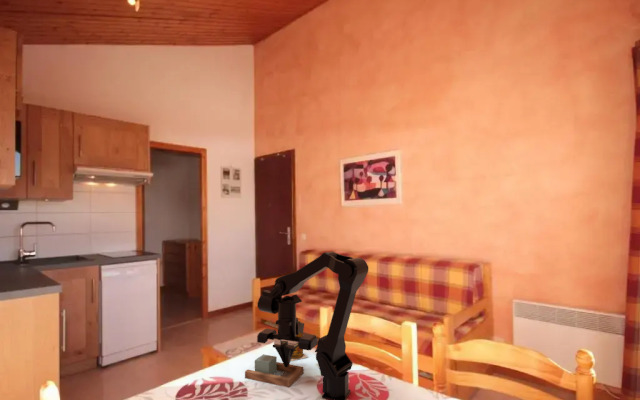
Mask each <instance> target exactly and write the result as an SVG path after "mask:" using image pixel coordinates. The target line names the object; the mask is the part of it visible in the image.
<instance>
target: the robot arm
mask: <svg viewBox="0 0 640 400" xmlns="http://www.w3.org/2000/svg"><path fill="white" fill-rule="evenodd" d="M327 269H329V270H330V271H331V272H333V273H335V274H337V275H338V276H337V282H338V285H339V290H338V293H337V297H336V301H335V305H334V308H333V313H332V316H331V319H330V320H331V321H330V324H329V328H328V331H327V334H326V335H324V336H322V337H319V338H317V335H315V334H307V333H305V334H304V330H305V329H304V328H305V323H304V322H301V321H300V322H301V323H300V322H298V321H299V318H298V317H297V304H299V303H300V304H301V303H302V302H303V300H302V299H301V297H299V296H298V294H295V293H297V292H298V291H299V290H300V289H302V288H303V286H304V284H305V283H306V282H308V281H309V280H310V279H312V278H314V277H316V276H318V275H319V274H320V273H322V272H324V271H325V270H327ZM368 273H369V265H368V263H367V261H366V260H365V259H364V258H361V257H352V256H348V255H343V254H340V253H337V252H335V251H325V252H323V253H322V254H320V256H318V257H317V258H315V259H313V260H312V261H310V262H309V263H307V264H306V265H304V266H303V267H300V268H298V269H297V270H296V271H294V272H291V273H287V274H285V275H282V276H278V277H276V279H275V281H274V285H273V287H272V289H271V291H270V290H267V289H266V290H263V291H262V292H261V295H260V296H259V298H258V301H257V302H256V303H257V304H256V305H257V308H258V311H260V312H263V313H269V314H273V315H275V314H276V315H277V320H275V325H277V330H276V329H271V328H265V329H264V330H262V331H260V332H258V333H257V335H256V342H257V343H259V344H260V343H261V344H265V343H267V342H268V340H271V341H272V340H273V345H272V348H274V349H275V351H276V352H277V353H278V355H279V357H280V360H281V361H282V362H281V363H283V364H284V366H285V367H288V366H289V364H290V363H291V358H292V355H293V352H294V350H295V349H296V348H297V347H298V346H299V348H300V349H303V351H311V350H313V349H314V348H315V347H316V349H315V350H314V353H315V359H316V360H315V361H317V365H318V368H319V373H320V375H321V377H322V393H323V394H322V395H321V397H322V399H326V400H347V398H348V397H349V395H350V394H351V389H349V375H350V374H349V372H350V370H351V369H352V368H353V361H352V360H351V358H350V357H349V356H348V354H347V353H346V349H347V348H346V346H347V345H346V341H345V335H346V330H347V329H348V324H349V320H350V317H351V313H352V309H353V305H354V303H355V297H356V294H357V292H358V290H359V289H360V287H361V286H362V284H363V283H364V282H365V279H366V277H367V275H368ZM291 294H293V295H291ZM300 333H303V336H302V337H296V335H299V334H300ZM290 365H291V364H290Z"/></svg>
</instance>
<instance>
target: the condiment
mask: <svg viewBox="0 0 640 400" xmlns="http://www.w3.org/2000/svg"><path fill="white" fill-rule="evenodd" d="M298 322H300V323H302V322H301V321H300V320H298ZM302 336H304V332H303V333H300V334H299V335H296V337H302ZM308 357H309V356H307V355H306V354H305V353H304V350H303V349H300V348H299V346H298V347H297V348H296V349H295V350H294V352H293V355H292V358H291V361H292V362H293V361H298V360H301V359H305V358H308ZM291 361H290V362H291Z"/></svg>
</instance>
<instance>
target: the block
mask: <svg viewBox="0 0 640 400" xmlns="http://www.w3.org/2000/svg"><path fill="white" fill-rule="evenodd" d="M277 357H278V356H275V355H270V354H262V355H260V356H258V357H257V358H256V359H255V360H254V371H258V372H263V373H268V374H273V375H276V374H277V362H278V361H277V360H278V359H277Z"/></svg>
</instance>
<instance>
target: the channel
mask: <svg viewBox="0 0 640 400" xmlns="http://www.w3.org/2000/svg"><path fill="white" fill-rule="evenodd" d="M304 368H305V367H304V366H301V365H295V364H289V366H288V367H285V366H284V364H283V362H278V361H277V371H279V372H282V373H283V372H285V371H286V372H292V373H291V374H290V375H289V376H288V377H283V376H280V375H277V374H274V375H273V374H268V373H263V372H258V371H255V370H252V369H246V370H245V371H244V379H248V380H252V381H257V382H263V383H266V384H267V383H268V384H272V385H276V386H277V385H278V386H282V387H285V388H286V387H287V388H290V387H291V386H292V385H293V384H294V383H295V382H296V381H297V380H298V379H299V378H301V377H302V376H303V374H304Z"/></svg>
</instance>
